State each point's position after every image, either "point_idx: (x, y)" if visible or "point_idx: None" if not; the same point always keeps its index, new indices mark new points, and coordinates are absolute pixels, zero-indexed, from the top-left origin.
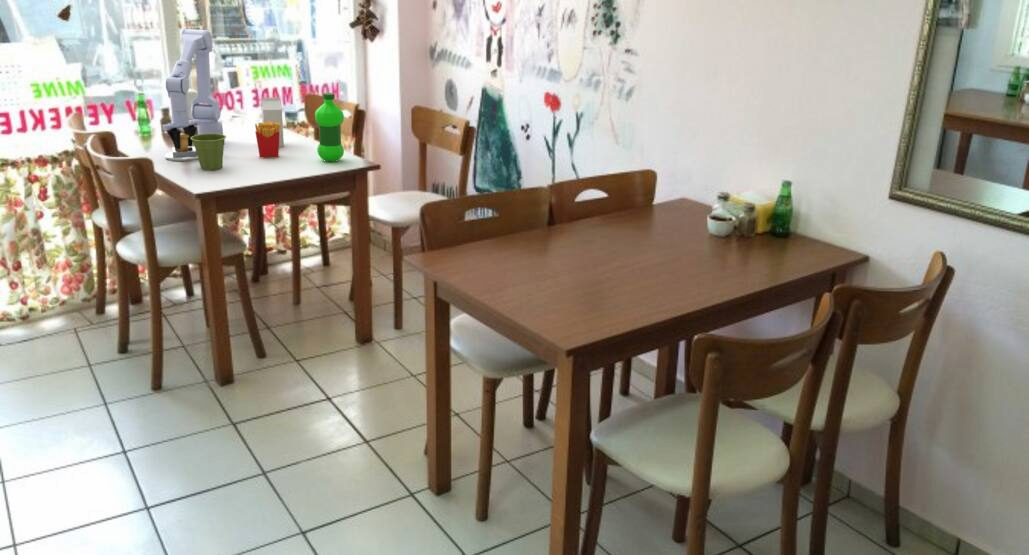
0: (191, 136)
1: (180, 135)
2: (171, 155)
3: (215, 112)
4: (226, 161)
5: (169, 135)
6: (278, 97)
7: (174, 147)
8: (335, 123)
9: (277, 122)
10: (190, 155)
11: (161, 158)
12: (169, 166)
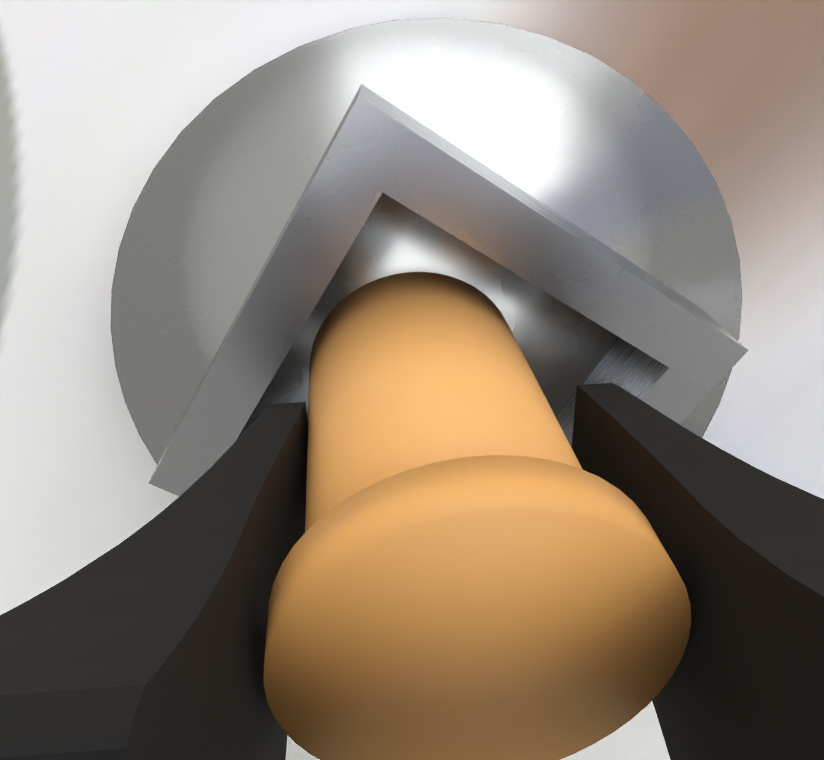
0: (657, 697)
1: (365, 728)
2: (227, 280)
3: None
4: (628, 751)
5: (65, 582)
6: None
7: (404, 146)
8: None
9: None
10: None
11: (77, 150)
12: (5, 607)
